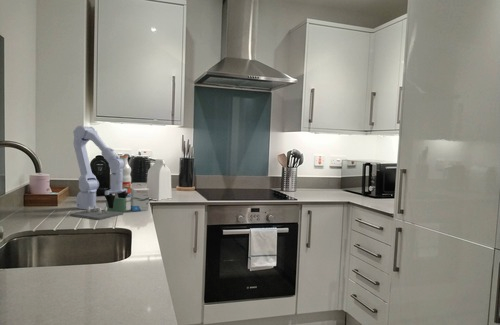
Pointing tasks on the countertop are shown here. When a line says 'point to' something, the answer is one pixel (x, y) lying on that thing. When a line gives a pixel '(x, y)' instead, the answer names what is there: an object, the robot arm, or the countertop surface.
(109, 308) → the countertop surface
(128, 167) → the fruit juice
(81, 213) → the plate
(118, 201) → the board
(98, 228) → the countertop surface
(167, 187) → the milk
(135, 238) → the countertop surface
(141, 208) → the ink box
